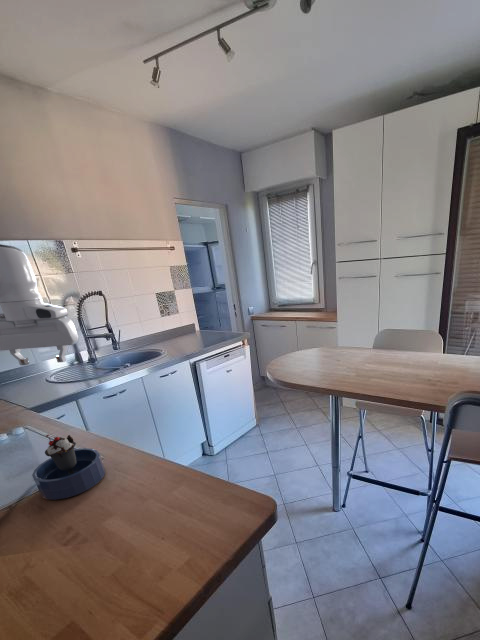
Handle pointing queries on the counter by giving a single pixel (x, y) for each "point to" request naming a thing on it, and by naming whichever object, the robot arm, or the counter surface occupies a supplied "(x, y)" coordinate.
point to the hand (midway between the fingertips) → (43, 363)
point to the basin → (64, 485)
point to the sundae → (62, 453)
